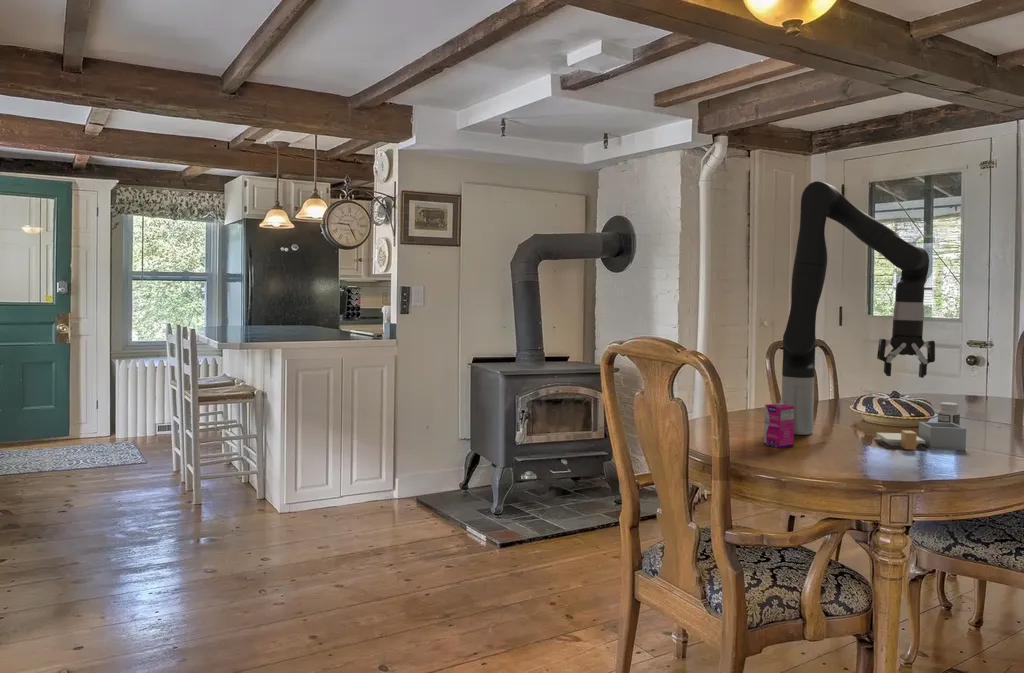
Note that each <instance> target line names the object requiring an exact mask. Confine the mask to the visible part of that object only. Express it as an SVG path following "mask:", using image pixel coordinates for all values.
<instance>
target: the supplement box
mask: <svg viewBox="0 0 1024 673" xmlns="http://www.w3.org/2000/svg"><path fill="white" fill-rule="evenodd" d="M763 425H764V428H763V431H764V432H763V433H764V434H763V445H765V444H766V446H769V445H771V446H770V447H773V446H775V447H774V448H777V447H779V448H778V449H782V448H781V447H785V448H791V447H790V446H793V447H794V444H795V442H794V441H795V440H794V438H795V436H794V435H795V434H794V406H791V405H786V404H781V403H780V402H778V403H767V404H764V424H763Z"/></svg>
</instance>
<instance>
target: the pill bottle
mask: <svg viewBox="0 0 1024 673" xmlns="http://www.w3.org/2000/svg"><path fill="white" fill-rule="evenodd" d="M939 407H940V409H939V410H938V412H937V422H939V423H954V424H957V425H959V426H961V425H960V424H961V421H960V420H961V419H960V418H961V414H960V412H959V411H958V409H959V403H956V402H948V401H947V402H940V406H939Z"/></svg>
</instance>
